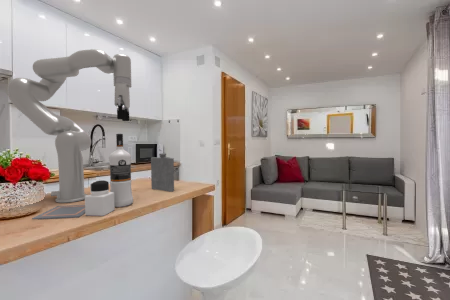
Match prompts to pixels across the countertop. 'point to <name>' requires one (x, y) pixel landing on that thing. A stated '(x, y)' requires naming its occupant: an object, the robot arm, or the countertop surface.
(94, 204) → the medicine bottle
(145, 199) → the countertop surface
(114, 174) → the vodka
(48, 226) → the countertop surface
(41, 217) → the card
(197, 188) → the countertop surface
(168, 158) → the hip flask
